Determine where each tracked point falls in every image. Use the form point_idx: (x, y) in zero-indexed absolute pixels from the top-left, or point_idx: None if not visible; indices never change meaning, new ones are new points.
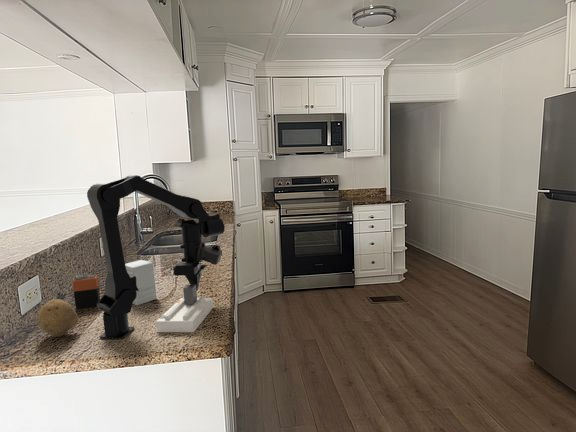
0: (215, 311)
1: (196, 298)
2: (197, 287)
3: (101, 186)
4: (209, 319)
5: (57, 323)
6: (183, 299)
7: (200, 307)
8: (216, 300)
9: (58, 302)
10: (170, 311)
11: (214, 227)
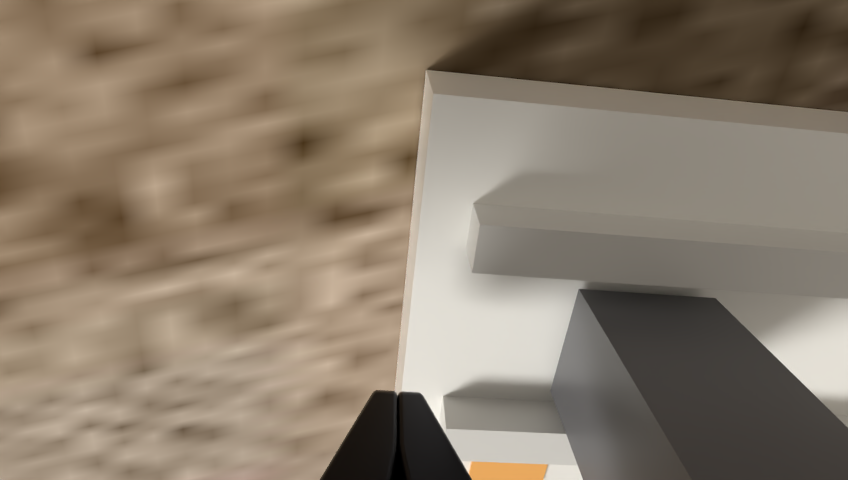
0: (583, 6)
1: (620, 317)
2: (439, 426)
3: None
4: (838, 34)
5: None
6: (572, 452)
7: (832, 191)
8: (151, 76)
9: None
10: None
11: None
